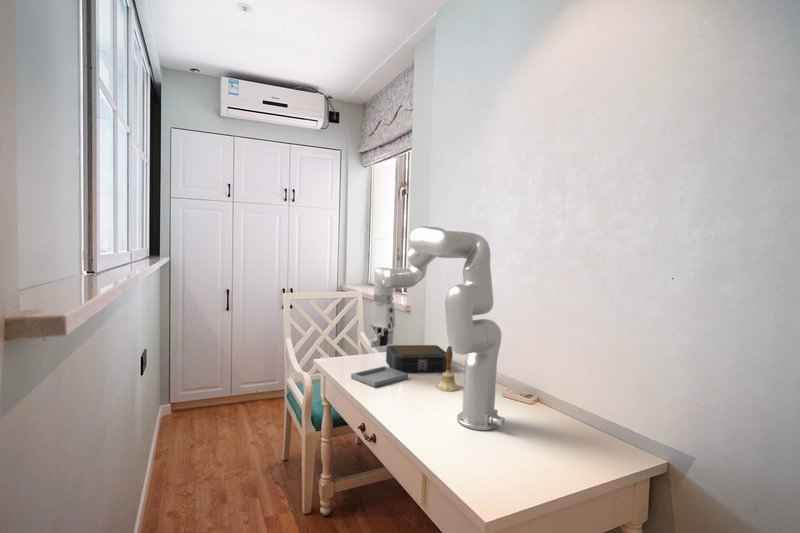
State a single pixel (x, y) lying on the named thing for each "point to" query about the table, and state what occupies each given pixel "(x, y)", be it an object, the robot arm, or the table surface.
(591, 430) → the table surface
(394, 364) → the cash box
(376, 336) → the white toothed rack
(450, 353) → the hand bell
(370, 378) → the tray
